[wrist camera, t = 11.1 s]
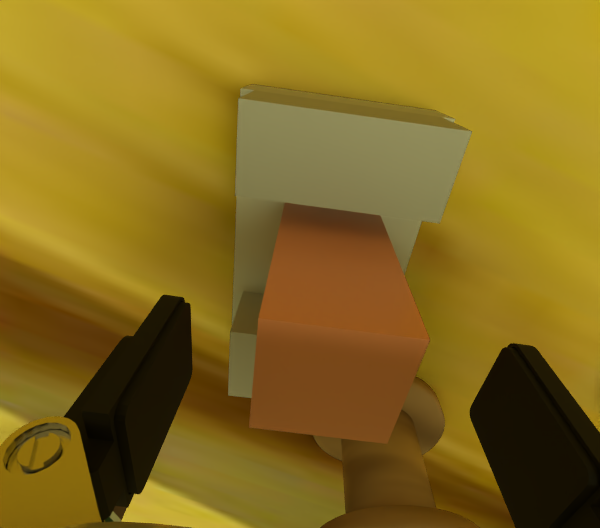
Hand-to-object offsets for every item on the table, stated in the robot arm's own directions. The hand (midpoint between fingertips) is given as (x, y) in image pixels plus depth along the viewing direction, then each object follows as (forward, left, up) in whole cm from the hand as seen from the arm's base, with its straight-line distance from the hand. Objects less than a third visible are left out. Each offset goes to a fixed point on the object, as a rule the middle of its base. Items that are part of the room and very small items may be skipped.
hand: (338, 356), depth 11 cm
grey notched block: (-2, 0, -9) cm, 9 cm away
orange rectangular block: (0, 0, -6) cm, 6 cm away
